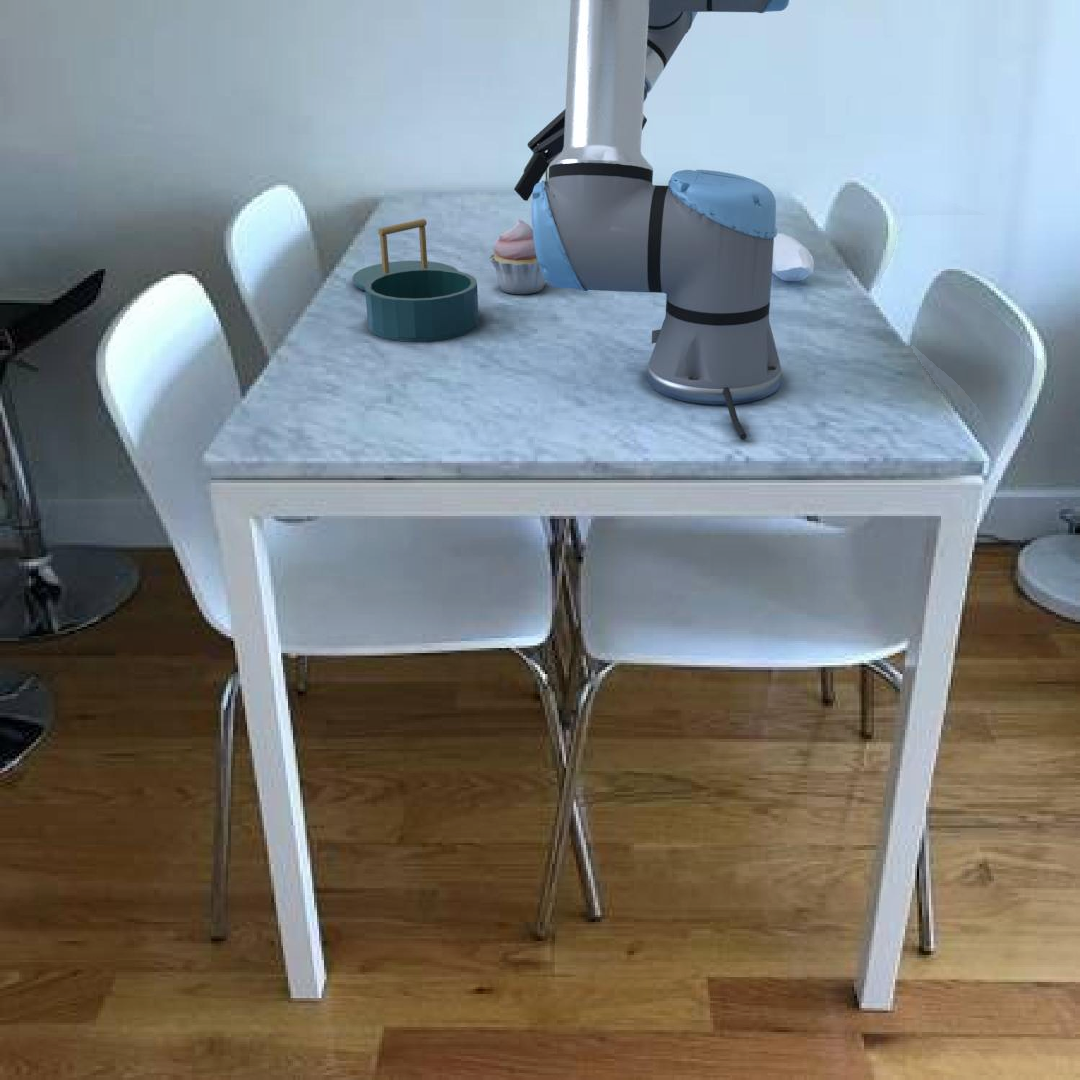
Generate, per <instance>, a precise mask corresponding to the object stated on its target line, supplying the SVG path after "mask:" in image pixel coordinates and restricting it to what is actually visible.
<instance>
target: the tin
mask: <svg viewBox="0 0 1080 1080" xmlns="http://www.w3.org/2000/svg"><path fill="white" fill-rule="evenodd" d="M364 292H365V293H364V294H365V304H366V315H367V317H366V318H367V326H368V329H369V331H370V333H372V334H374V335H375V336H377V337H379V338H383V339H386V340H390V341H398V342H408V343H409V342H410V343H411V342H412V343H422V342H423V343H424V342H426V343H427V342H436V341H443V340H449V339H454V338H458V337H461V336H463V335H466V334H468V333H470V332H472V331H473V330H475V329H476V328H477V327H478V325H479V320H480V317H479V295H478V281H477V278H476V277H474V276H473V275H471V274H469V273H466V272H463V271H459V270H458V271H453V270H446V269H428V268H427V269H409V270H402V271H395V272H391V273H387V274H383V275H379V276H377V277H375V278H372V279H371V280H370V281H368V282H367V283H366V284H365V290H364Z"/></svg>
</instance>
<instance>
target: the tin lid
mask: <svg viewBox="0 0 1080 1080" xmlns="http://www.w3.org/2000/svg"><path fill="white" fill-rule="evenodd" d="M426 226H427V219H425V218H420V219H415V220H411V221H407V222H402V223H398V224H393V225H392V224H391V225H388V226H383V227H379V228H378V230H377V232H378V233H377V234H378V236H379V239H380V252H381V263H377V264H373V265H370V266H366V267H363V268H361V269H359V270H358V271H356V272H355V273H354V274H353V275H352V284H353V285H354V286H355V287H356V288H358V289H360V290H363V291H365V284H366V283H367V282H368V281H370V280H371V279H372V278H375V277H377V276H379V275H383V274H387V273H391V272H395V271H402V270H409V269H427V268H428V269H446V270H453V271H459V270H458V269H457V268H455V267H454V266H452V265H450V264H446V263H442V262H436V261H430V260H428V252H427V250H428V249H427V235H426ZM413 229H418V230H419V231H418V235H419V236H418V237H419V250H420V251H419V252H420V260H398V261H389V250H388V237H387V236H388V235H390V234H396V233H399V232H405V231H409V230H413Z"/></svg>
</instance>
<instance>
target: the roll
mask: <svg viewBox="0 0 1080 1080" xmlns="http://www.w3.org/2000/svg"><path fill="white" fill-rule="evenodd" d="M814 268H815V261H814V257H813V256H812V254H811V252H810V251H809V250H808V248H806V247H805V246H804V245H803V244H802V243H801V242H799V241H798V240H797V239H795V238H794V237H792V236H790V235H788V234H785V233H777V235H776V237H775V238H774V246H773V262H772V274H774V275H775V276H776V277H777V278H778V279H780V280H782V281H786V282H801V281H802V282H803V281H804V280H805V279H808V277H810V276H811V275H813V273H814Z"/></svg>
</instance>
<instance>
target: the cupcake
mask: <svg viewBox="0 0 1080 1080" xmlns="http://www.w3.org/2000/svg"><path fill="white" fill-rule="evenodd" d="M493 251H494V253H493V254H489V255H488V258H489V261H490V262H491V264H492V266H493V267H494V270H495V273H496V278H497V282H498V285H499V288H500V290H501V291H502V292H504V293H507V294H511V295H531V294H536V293H538V292H541V291H542V290H543V289H544V288H545V284H546V280H545V279H544V277H543V275H542V273H541V271H540V268H539V265H538V261H537V257H536V252H535V246H534V239H533V230H532V226H530V225H529V224H528V223H527V222H525V221H524V220H521V219H519V218H517V219H516V224H515V225H514V226H513V227H511V228H508V229H506V230H505V231H504V232H502V233H501V234H500V235H499V239H498V240H497V241H495V243H494V245H493Z"/></svg>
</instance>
